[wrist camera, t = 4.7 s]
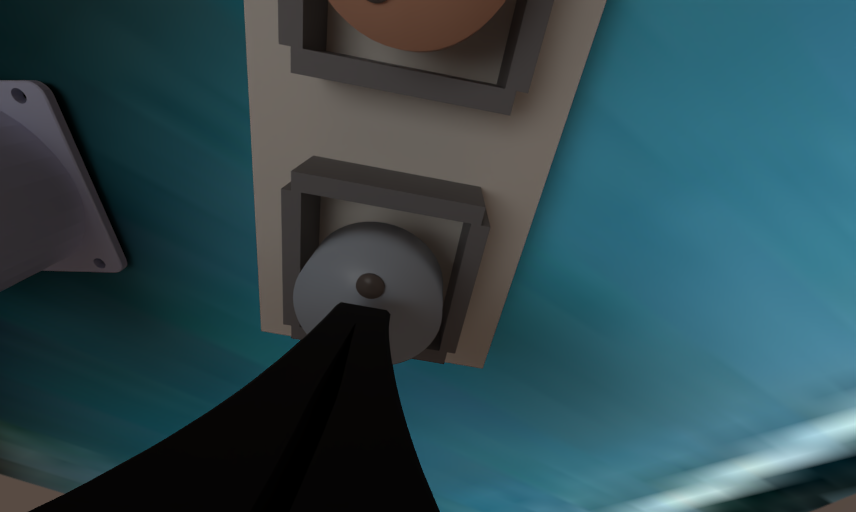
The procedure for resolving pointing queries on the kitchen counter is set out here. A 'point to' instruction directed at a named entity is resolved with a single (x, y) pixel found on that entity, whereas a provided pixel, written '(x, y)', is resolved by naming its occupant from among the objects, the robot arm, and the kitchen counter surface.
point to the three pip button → (417, 21)
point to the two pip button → (375, 283)
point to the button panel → (409, 147)
